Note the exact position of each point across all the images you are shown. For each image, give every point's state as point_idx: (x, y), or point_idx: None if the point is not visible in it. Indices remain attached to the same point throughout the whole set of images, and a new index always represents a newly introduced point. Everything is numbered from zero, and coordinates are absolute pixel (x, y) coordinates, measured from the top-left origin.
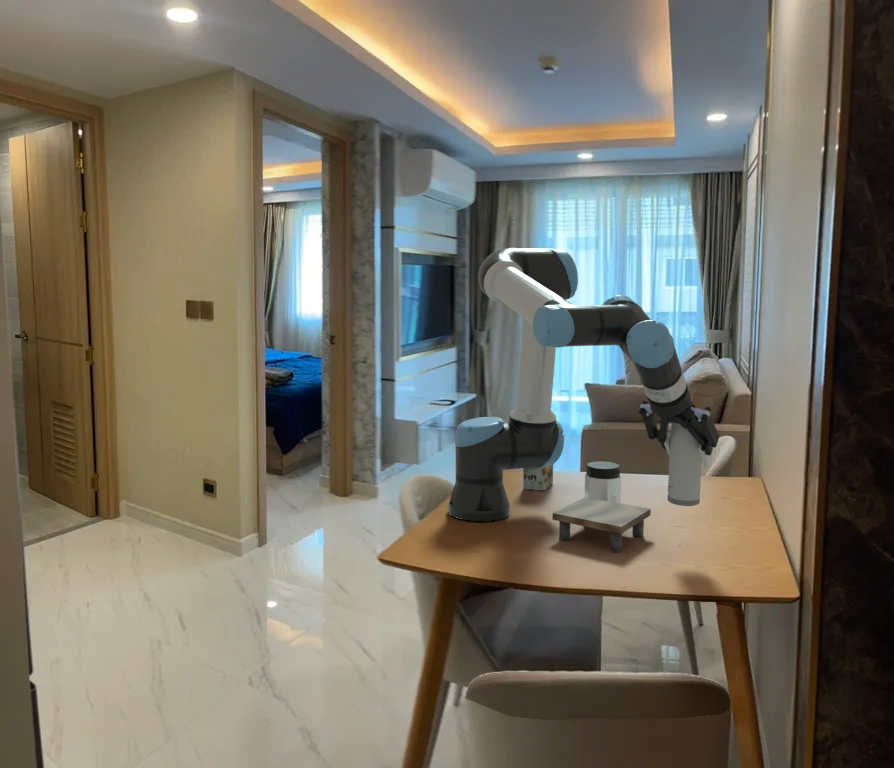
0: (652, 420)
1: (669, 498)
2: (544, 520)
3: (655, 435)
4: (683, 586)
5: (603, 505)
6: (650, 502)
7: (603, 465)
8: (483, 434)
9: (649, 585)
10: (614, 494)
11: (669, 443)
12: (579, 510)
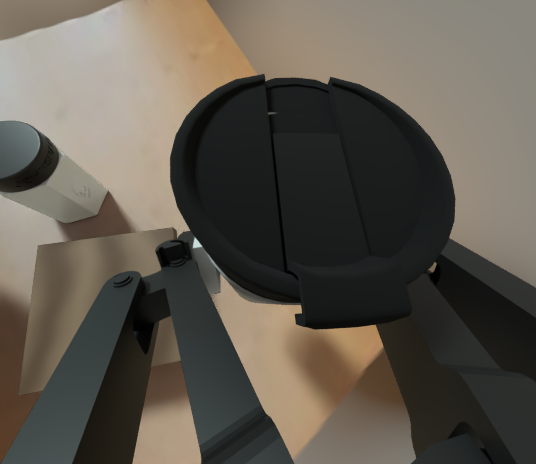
0: (110, 461)
1: (242, 297)
2: (6, 299)
3: (158, 320)
4: (317, 391)
5: (93, 268)
6: (122, 119)
7: (2, 152)
8: None
9: (285, 430)
10: (79, 186)
11: (217, 270)
12: (64, 332)
